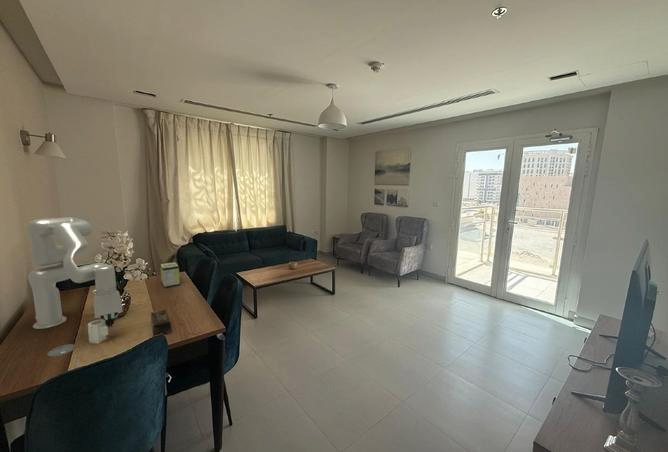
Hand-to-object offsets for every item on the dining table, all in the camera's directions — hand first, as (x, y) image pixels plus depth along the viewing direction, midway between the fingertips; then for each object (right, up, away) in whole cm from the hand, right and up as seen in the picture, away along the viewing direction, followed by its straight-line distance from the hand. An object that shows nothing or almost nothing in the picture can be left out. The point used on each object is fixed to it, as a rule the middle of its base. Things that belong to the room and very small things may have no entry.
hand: (110, 325), depth 133 cm
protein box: (-17, +4, +77) cm, 79 cm away
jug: (-4, -7, -2) cm, 8 cm away
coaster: (-14, -8, -10) cm, 19 cm away
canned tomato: (-16, -4, +19) cm, 25 cm away
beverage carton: (+17, -6, +13) cm, 22 cm away
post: (-5, -7, -1) cm, 9 cm away
